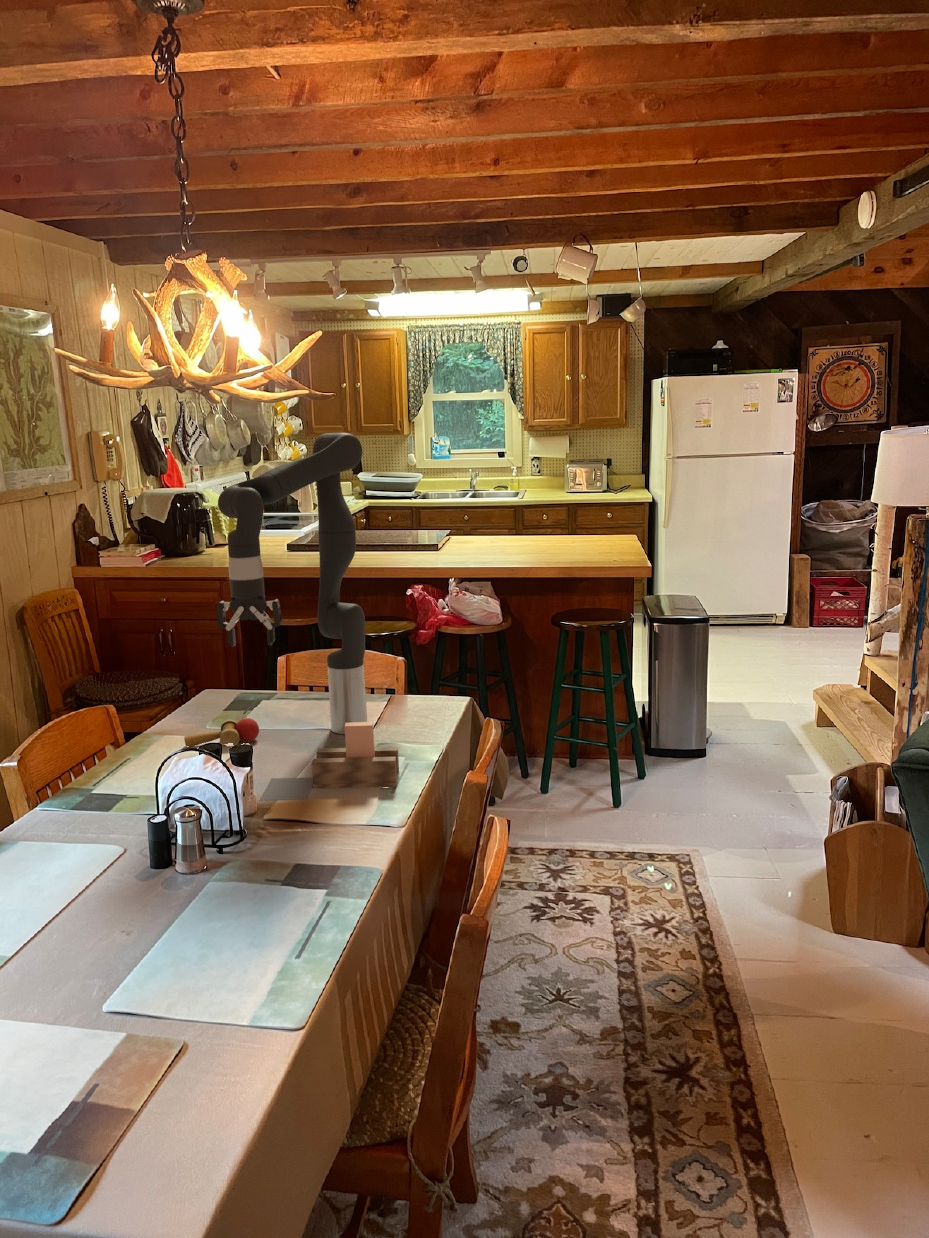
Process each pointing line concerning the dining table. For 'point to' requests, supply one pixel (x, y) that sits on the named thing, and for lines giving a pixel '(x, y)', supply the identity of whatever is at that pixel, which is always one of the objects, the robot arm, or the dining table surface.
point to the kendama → (227, 733)
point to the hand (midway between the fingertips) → (251, 645)
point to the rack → (355, 769)
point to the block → (359, 739)
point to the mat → (288, 789)
